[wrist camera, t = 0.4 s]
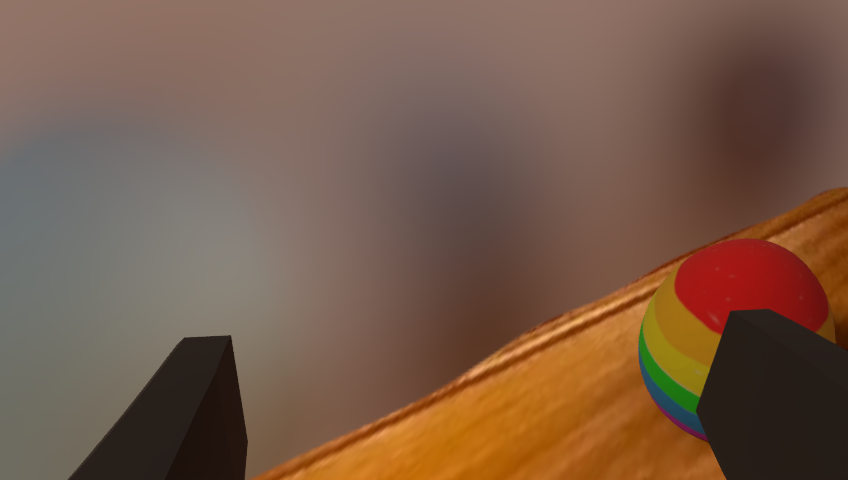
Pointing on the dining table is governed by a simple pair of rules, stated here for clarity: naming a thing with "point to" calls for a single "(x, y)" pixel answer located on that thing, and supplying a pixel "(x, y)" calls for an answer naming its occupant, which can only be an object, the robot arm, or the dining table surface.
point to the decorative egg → (719, 316)
